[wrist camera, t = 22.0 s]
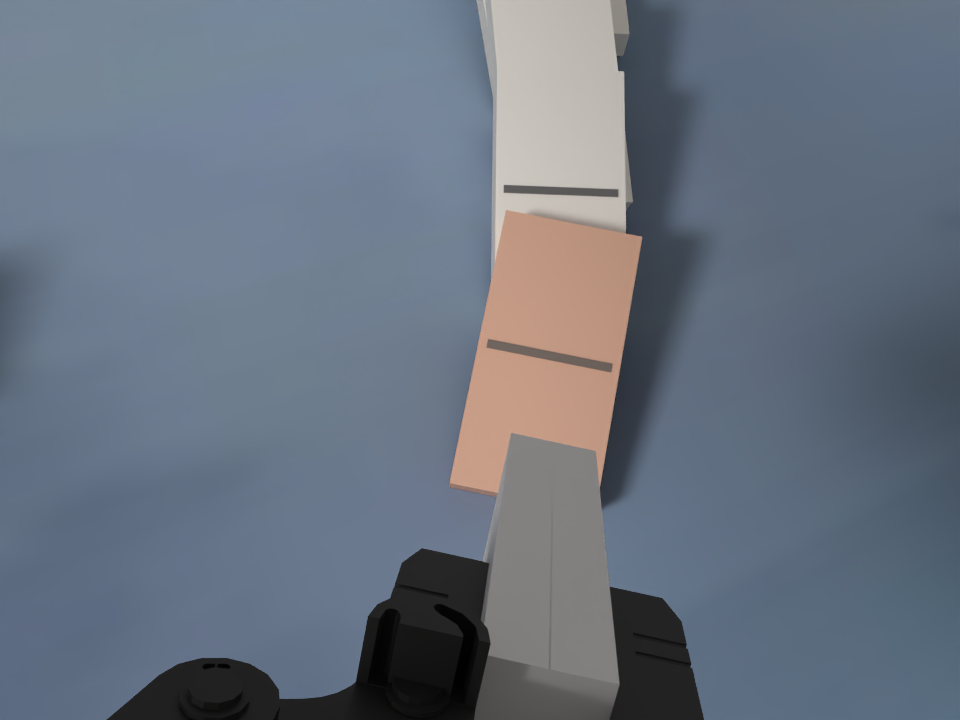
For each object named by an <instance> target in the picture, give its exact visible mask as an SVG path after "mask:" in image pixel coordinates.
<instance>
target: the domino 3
mask: <svg viewBox="0 0 960 720" xmlns="http://www.w3.org/2000/svg"><path fill="white" fill-rule="evenodd" d="M641 242H642V237H641V236H636V235H631V234H626V233H620V232H615V231H610V230H605V229H600V228H595V227H590V226H585V225H580V224H575V223H570V222H565V221H559V220H554V219H549V218H544V217H539V216H534V215H529V214H524V213H519V212H514V211H509V210H506V212H505V217H504V222H503V226H502V231H501V236H500V241H499V246H498V251H497V256H496V260H495V265H494V270H493V275H492V280H491V285H490V289H489V294H488V299H487V304H486V309H485V314H484V319H483V323H482V328H481V333H480V338H479V343H478V348H477V353H476V357H475V362H474V367H473V372H472V377H471V382H470V386H469V391H468V396H467V401H466V406H465V411H464V416H463V420H462V425H461V430H460V435H459V440H458V445H457V450H456V454H455V459H454V464H453V469H452V474H451V479H450V487H451V488H456V489H461V490H466V491H471V492H476V493H480V494H485V495H490V496H495V497H497V494H498V490H499V485H500V481H501V476H502V472H503V467H504V463H505V458H506V454H507V449H508V445H509V440H510V436H511V433H514V434H519V435H524V436H528V437H533V438H538V439H542V440H547V441H552V442H556V443H561V444H565V445H570V446H575V447H579V448H584V449H589V450H593V451H596V458H597V467H598V477H599V487H600V484H601V478H602V473H603V467H604V461H605V455H606V449H607V443H608V437H609V431H610V425H611V419H612V413H613V407H614V402H615V396H616V390H617V384H618V378H619V372H620V366H621V360H622V354H623V348H624V342H625V336H626V331H627V325H628V319H629V313H630V307H631V301H632V295H633V289H634V283H635V277H636V271H637V265H638V260H639V254H640V248H641Z"/></svg>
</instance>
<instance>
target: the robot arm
mask: <svg viewBox="0 0 960 720" xmlns="http://www.w3.org/2000/svg"><path fill="white" fill-rule="evenodd" d="M686 645H687V644H686V640H685V635H684V631H683V626H682V622H681V620H680V619H679V618H678V617H677V615H676V614H675V613H674V612H673V611H672V609H671V608H670V607H669V606H668V604H667V603H666V602H665V601H664V600H663V598H659V597H654V596H649V595H645V594H640V593H636V592H631V591H627V590H622V589H618V588H613V587H610V586H609V576H608V566H607V556H606V546H605V537H604V527H603V517H602V507H601V497H600V487H599V477H598V467H597V458H596V451H593V450H589V449H584V448H579V447H575V446H570V445H565V444H561V443H556V442H552V441H547V440H542V439H538V438H533V437H528V436H524V435H519V434H514V433H511V436H510V440H509V445H508V449H507V454H506V458H505V463H504V467H503V472H502V476H501V481H500V485H499V490H498V494H497V499H496V503H495V508H494V512H493V517H492V521H491V526H490V530H489V535H488V539H487V544H486V548H485V553H484V557H483V562H482V561H478V560H473V559H468V558H464V557H459V556H455V555H450V554H446V553H441V552H436V551H432V550H427V549H423V548H422V549H420V550H419V551H418V552H416V553H415V554H414V555H412V556H411V557H409V558H408V559H407V560H405V561H404V562H403V563H402V565H401V568H400V571H399V574H398V577H397V580H396V583H395V587H394V589H393V592H392V595H391V598H390V599H388V600H386V601H384V602H382V603H379V604H377V605H376V607H375V608H374V609H373V611H372V612H371V613H370V615H369V616H368V620H367V625H366V631H365V636H364V641H363V647H362V652H361V658H360V663H359V668H358V674H357V679H356V682H355V683H354V684H353V685H352V686H350V687H348V688H346V689H344V690H342V691H340V692H338V693H335V694H331V695H327V696H324V697H318V698H307V699H279V689H278V688H277V687H276V685H275V684H274V682H273V681H272V680H271V678H270V677H269V676H268V675H267V674H266V673H264V672H262V671H261V670H259V669H257V668H256V667H254V666H252V665H251V664H248V663H244V662H240V661H236V660H232V659H228V658H200V659H196V660H192V661H188V662H184V663H180V664H177V665H176V666H174V667H172V668H171V669H169V670H167V671H165V672H164V673H162V674H160V675H159V676H158V677H156V678H155V679H154V680H153V681H152V682H151V683H149V684H148V685H147V686H146V687H145V688H144V689H142V690H141V691H140V692H139V693H138V694H136V695H135V696H134V697H133V698H132V699H131V700H129V701H128V702H127V703H126V704H125V705H124V706H122V707H121V708H120V709H119V710H118V711H117V712H115V713H114V714H113V715H112V716H111V717H109V718H108V719H107V720H704V718H703V713H702V709H701V705H700V700H699V696H698V692H697V687H696V683H695V679H694V674H693V670H692V668H690V666H691V661H690V657H689V653H688V649H686Z"/></svg>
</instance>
